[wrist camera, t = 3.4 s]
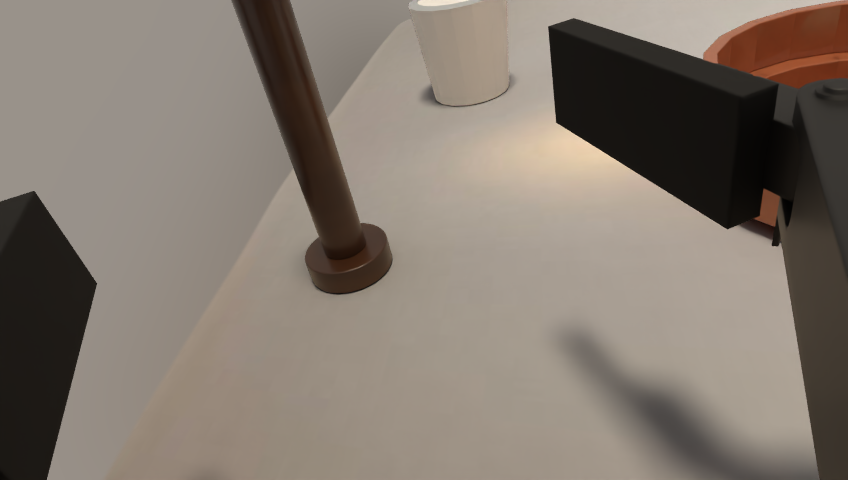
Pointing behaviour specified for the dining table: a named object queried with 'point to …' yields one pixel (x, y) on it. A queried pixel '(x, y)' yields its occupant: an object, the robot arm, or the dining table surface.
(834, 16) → the bowl
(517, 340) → the dining table surface
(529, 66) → the dining table surface
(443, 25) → the white cup
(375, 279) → the stick
